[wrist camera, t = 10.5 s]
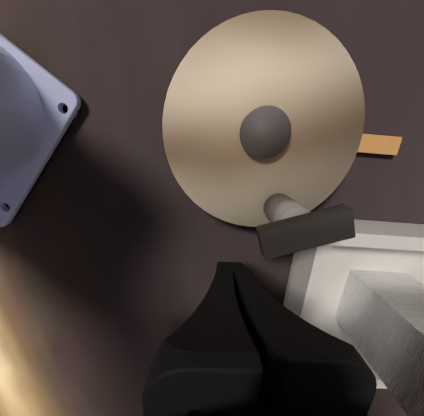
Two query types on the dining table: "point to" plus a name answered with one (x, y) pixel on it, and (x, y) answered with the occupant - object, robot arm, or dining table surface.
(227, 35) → the crank
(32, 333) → the dining table surface
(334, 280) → the tray
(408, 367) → the block
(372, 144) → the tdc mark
